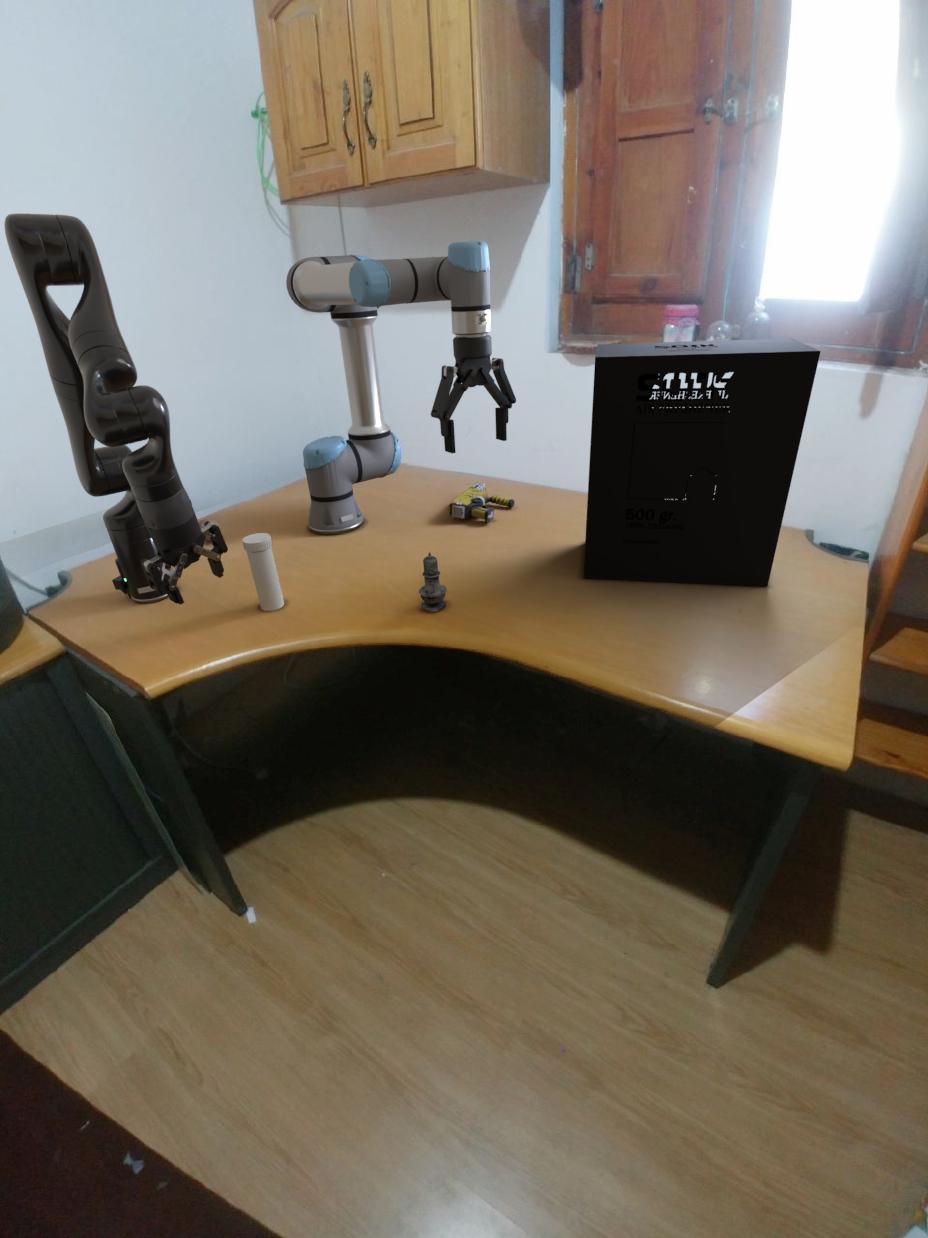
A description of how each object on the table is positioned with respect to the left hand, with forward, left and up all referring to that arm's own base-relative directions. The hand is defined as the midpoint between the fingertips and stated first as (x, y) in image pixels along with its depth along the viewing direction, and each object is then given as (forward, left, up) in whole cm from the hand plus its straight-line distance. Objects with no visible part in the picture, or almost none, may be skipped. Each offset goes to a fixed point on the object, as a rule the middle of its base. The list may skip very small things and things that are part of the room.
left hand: (199, 588), depth 107 cm
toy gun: (+32, +82, -13) cm, 90 cm away
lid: (0, +19, +2) cm, 19 cm away
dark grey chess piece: (+35, +24, -14) cm, 45 cm away
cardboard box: (+82, +54, -14) cm, 99 cm away
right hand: (+40, +45, +14) cm, 62 cm away
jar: (+1, +19, -14) cm, 23 cm away
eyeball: (-36, +49, -14) cm, 62 cm away
